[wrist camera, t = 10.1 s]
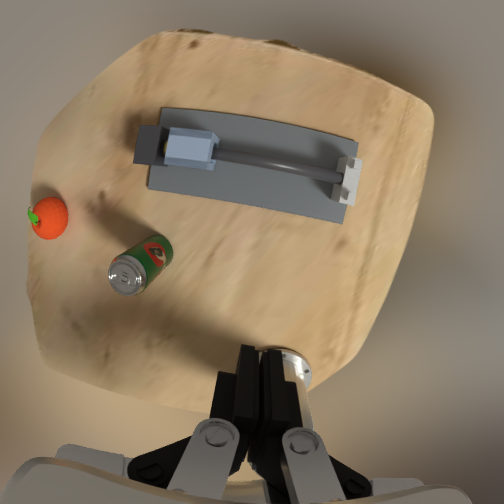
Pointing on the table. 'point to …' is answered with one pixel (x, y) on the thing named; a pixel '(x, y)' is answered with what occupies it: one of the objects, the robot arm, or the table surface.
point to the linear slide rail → (257, 164)
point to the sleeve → (191, 148)
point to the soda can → (140, 265)
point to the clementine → (49, 218)
